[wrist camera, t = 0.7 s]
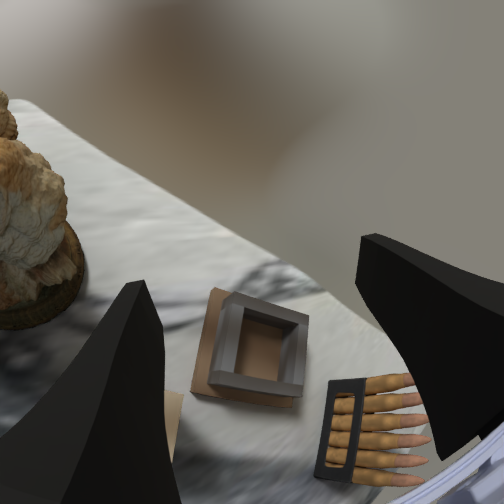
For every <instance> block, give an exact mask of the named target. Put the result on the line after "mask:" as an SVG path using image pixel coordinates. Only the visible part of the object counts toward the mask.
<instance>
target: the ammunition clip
mask: <svg viewBox="0 0 504 504" xmlns="http://www.w3.org/2000/svg"><path fill="white" fill-rule="evenodd" d="M414 385H415V383H414V380H413V378H412V376H411V374H410V373H403V374H388V375H382V376H376V377H370V378H355V379H342V380H329V382H328V390H327V398H326V406H325V413H324V419H323V426H322V432H321V438H320V444H319V449H318V455H317V460H316V465H315V470H314V477H316V478H321V479H327V480H333V481H339V482H346V483H356V484H362V485H369V486H376V487H381V486H397V487H408V486H415V485H419V484H422V483H424V482H425V480H424V479H422V478H420V477H417V476H413V475H408V474H399V473H393V472H388V471H385V470H378V469H369V468H366V467H370V468H380V469H383V468H397V467H402V468H404V467H414V466H419V465H422V464H425V463H427V462H428V461H429V460H428V459H426V458H424V457H421V456H417V455H409V454H396V453H390V452H386V451H370V450H369V449H371V450H388V449H395V448H410V447H416V446H421V445H424V444H426V443H428V442H430V441H431V438H429V437H427V436H422V435H416V434H394V433H389V432H372V431H390V430H394V429H402V428H410V427H416V426H420V425H423V424H426V423H428V422H429V419H428V416H427V415H425V414H393V413H383V414H374V412H388V411H393V410H396V409H401V408H406V407H412V406H417V405H420V404H423V402H422V399H421V397H420V394H419V392H417V393H407V394H406V393H404V394H394V393H390V394H382V395H376V394H377V393H385V392H392V391H396V390H398V389H401V388H405V387H409V386H414ZM349 396H355V397H349ZM363 413H365V414H363ZM345 414H353V415H345ZM347 431H351V432H347ZM360 431H363V432H360ZM340 447H344V448H340ZM347 448H348V449H347ZM358 449H360V450H358ZM338 463H339V464H338ZM342 464H345V465H342Z"/></svg>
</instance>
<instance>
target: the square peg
mask: <svg viewBox="0 0 504 504" xmlns="http://www.w3.org/2000/svg"><path fill="white" fill-rule="evenodd" d="M183 397H184V395H183V394H179V393H175V392H171V391H167V390H164V413H165V427H166V434H167V440H168V447H169V452H170V458H171V463H172V459H173V453H174V447H175V441H176V436H177V430H178V424H179V419H180V413H181V408H182V402H183Z"/></svg>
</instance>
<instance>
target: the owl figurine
mask: <svg viewBox="0 0 504 504" xmlns="http://www.w3.org/2000/svg"><path fill="white" fill-rule="evenodd" d="M8 102H9V100H8V97H7V95H6V94H5V93H4V92H3V91H1V90H0V329H4V330H20V329H26V328H31V327H32V328H33V327H35V326H37V325H40V324H43V323H46V322H48V321H50V320H51V319H52V318H54V317H55V316H57V314H58V313H60V312H62V311H65V309H67V308H68V306H70V304H71V303H72V302H73V301H74V299H75V297H76V296H77V293H78V291H79V288H80V286H81V283H82V280H83V275H84V271H85V270H84V254H83V251H82V249H81V244H80V242H79V239H78V237H77V234H76V233H75V232H74V230H73V229H72V228H71V226H70V224H69V223H68V222H67V221H66V216H67V208H66V205H67V200H68V198H67V196H66V195H65V190H64V185H65V183H64V179H63V178H62V176H60V175H58V174H56V173H54V171H52V170H51V166H50V164H49V162H48V161H46V160H45V159H44V157H43V156H42V155H41V154H40V153H39V154H38V153H32V152H31V150H30V149H29V148H28V147H26V145H25V144H23V143H22V142H20V141H18V140H16V139H17V136H18V131H17V124H16V120H15V118H14V116H13V115H12V114H11V112H10V111H9V110H7V106H8Z"/></svg>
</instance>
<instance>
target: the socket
mask: <svg viewBox="0 0 504 504" xmlns="http://www.w3.org/2000/svg"><path fill="white" fill-rule="evenodd" d="M308 325H309V315H306V314H303V313H299V312H296V311H293V310H290V309H287V308H284V307H281V306H277V305H274V304H271V303H268V302H265V301H262V300H259V299H256V298H253V297H250V296H247V295H244V294H241V293H238V292H235V291H234V292H233V293H230V292H227V291H224V290H221V289H218V288H216V287H215V288H213V289H212V290H211V292H210V297H209V301H208V306H207V311H206V315H205V320H204V325H203V330H202V334H201V339H200V344H199V349H198V354H197V359H196V364H195V369H194V374H193V379H192V384H191V390H190V392H194V393H198V394H203V395H208V396H212V397H218V398H223V399H228V400H234V401H240V402H247V403H253V404H261V405H268V406H277V407H287V408H292V402H293V397H302V391H303V382H304V372H305V361H306V350H307V338H308Z"/></svg>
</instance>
